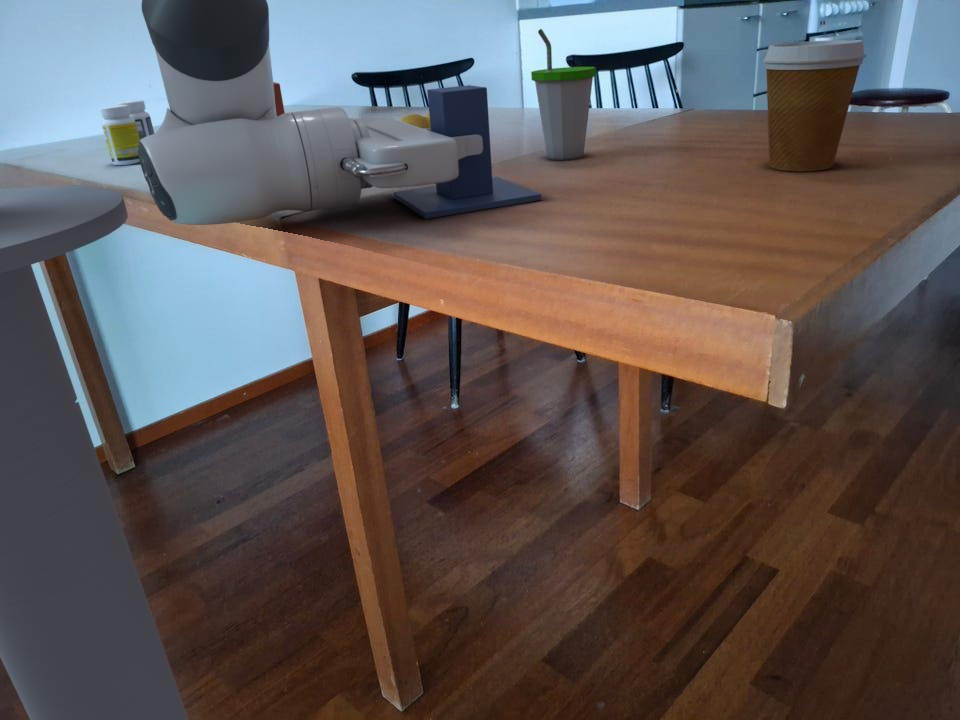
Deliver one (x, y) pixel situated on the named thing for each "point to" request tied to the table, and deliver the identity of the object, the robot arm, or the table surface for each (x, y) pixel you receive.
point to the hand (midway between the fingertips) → (468, 139)
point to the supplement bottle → (120, 134)
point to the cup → (563, 106)
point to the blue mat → (464, 199)
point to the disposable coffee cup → (809, 100)
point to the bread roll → (417, 121)
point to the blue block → (460, 116)
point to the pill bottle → (140, 117)
